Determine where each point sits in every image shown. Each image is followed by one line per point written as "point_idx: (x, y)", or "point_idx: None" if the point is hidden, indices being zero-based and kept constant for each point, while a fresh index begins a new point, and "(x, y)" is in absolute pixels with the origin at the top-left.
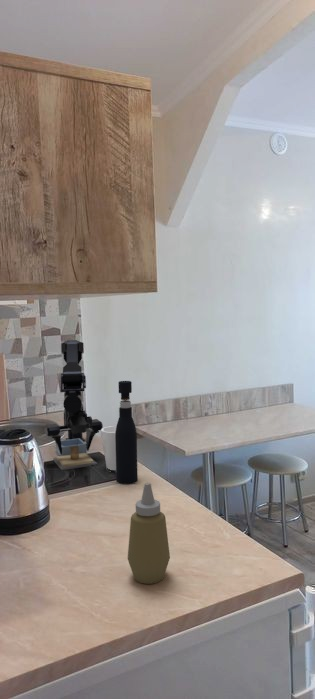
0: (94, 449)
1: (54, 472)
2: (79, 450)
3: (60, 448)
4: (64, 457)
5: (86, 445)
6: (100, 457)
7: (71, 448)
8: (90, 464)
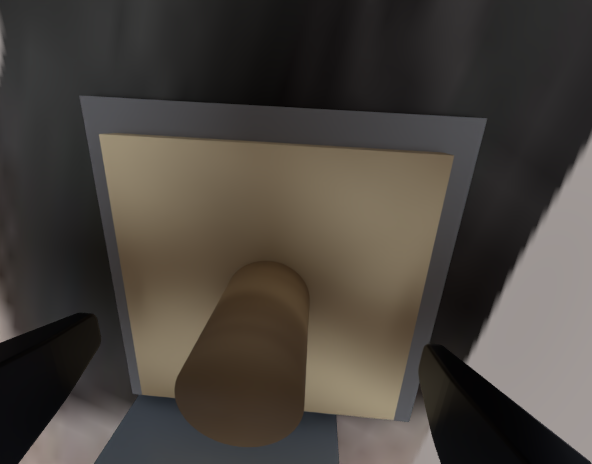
0: (71, 460)
1: (571, 89)
2: (176, 439)
3: (498, 407)
4: (344, 369)
5: (59, 397)
6: (43, 292)
7: (297, 373)
8: (155, 101)
